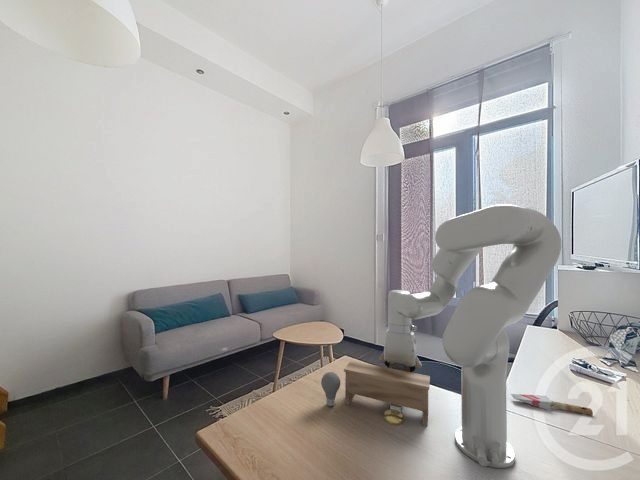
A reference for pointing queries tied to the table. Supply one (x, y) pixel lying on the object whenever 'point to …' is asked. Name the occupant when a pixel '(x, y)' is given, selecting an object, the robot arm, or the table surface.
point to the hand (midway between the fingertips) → (399, 383)
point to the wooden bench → (387, 386)
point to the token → (393, 417)
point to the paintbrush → (550, 403)
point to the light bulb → (330, 386)
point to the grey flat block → (402, 368)
